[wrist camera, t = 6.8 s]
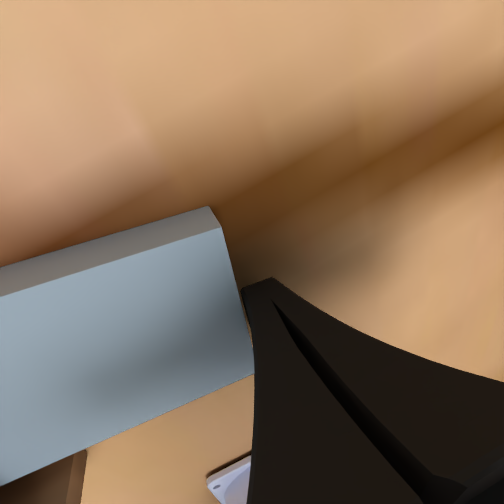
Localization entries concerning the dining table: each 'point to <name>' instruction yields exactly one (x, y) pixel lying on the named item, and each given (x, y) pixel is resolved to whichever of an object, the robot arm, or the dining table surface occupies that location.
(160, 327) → the lid
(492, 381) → the robot arm
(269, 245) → the dining table surface
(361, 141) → the dining table surface
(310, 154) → the dining table surface
